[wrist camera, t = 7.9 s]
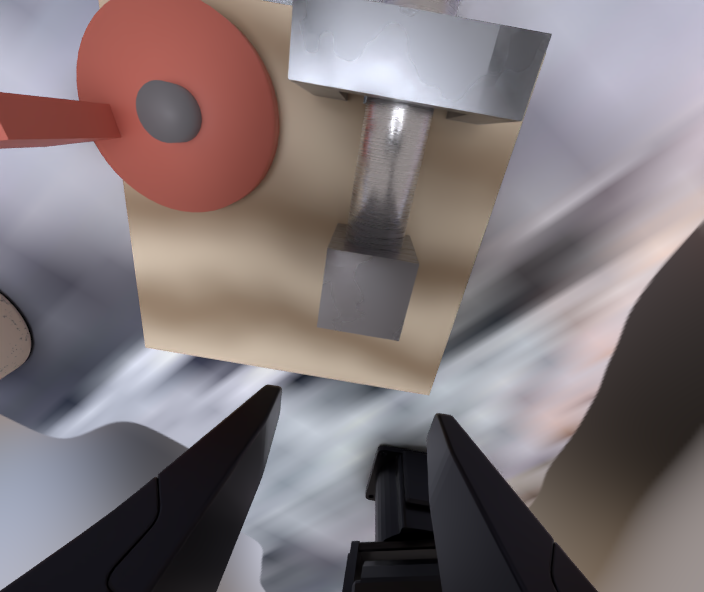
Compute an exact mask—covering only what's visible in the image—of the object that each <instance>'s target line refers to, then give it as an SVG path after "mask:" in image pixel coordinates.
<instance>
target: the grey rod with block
mask: <svg viewBox="0 0 704 592" xmlns="http://www.w3.org/2000/svg"><path fill="white" fill-rule="evenodd" d="M459 2H460V0H382V3H386V4H391V5H396V6H402V7H407V8H413V9H418V10H424V11H429V12H435V13H440V14H445V15H451V16H456V15H457V10H458V6H459ZM433 112H434V108H430V107H425V106H419V105H413V104H408V103H402V102H397V101H391V100H386V99H380V98H375V97H369V96H367V101H366V107H365V114H364V120H363V126H362V133H361V139H360V146H359V152H358V159H357V165H356V171H355V178H354V184H353V191H352V197H351V204H350V210H349V217H348V223H347V224H341V223H338V224H337V226H336V229H335V231H334V233H333V236H332V238H331V241H330V243H329V245H328V248H327V254H326V262H325V269H324V277H323V284H322V292H321V299H320V307H319V314H318V322H317V327H318V328H324V329H330V330H336V331H342V332H348V333H353V334H359V335H365V336H371V337H377V338H383V339H389V340H394V341H399V339H400V336H401V332H402V328H403V324H404V320H405V317H406V313H407V309H408V305H409V302H410V298H411V294H412V290H413V287H414V283H415V279H416V275H417V272H418V268H419V261H418V258H417V255H416V252H415V249H414V246H413V243H412V240H411V237H410V235H405V232H406V227H407V223H408V219H409V215H410V210H411V206H412V202H413V198H414V193H415V189H416V185H417V181H418V176H419V172H420V168H421V163H422V159H423V155H424V151H425V146H426V142H427V138H428V134H429V129H430V125H431V121H432V117H433Z"/></svg>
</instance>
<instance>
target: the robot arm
mask: <svg viewBox="0 0 704 592" xmlns="http://www.w3.org/2000/svg"><path fill="white" fill-rule="evenodd" d="M281 396H282V388H281V387H280V386H274V385H265V386H264V387H263V388H261V389H260V390H259V391H258V392H257V393H255V394H254V395H253V396H252V397H251V398H249V399H248V400H247V401H246V402H245V403H243V404H242V405H241V406H240V407H239V408H237V409H236V410H235V411H234V412H233V413H231V414H230V415H229V416H228V417H227V418H225V419H224V420H223V421H222V422H221V423H219V424H218V425H217V426H216V427H215V428H213V429H212V430H211V431H210V432H208V433H207V434H206V435H205V436H204V437H202V438H201V439H200V440H199V441H198V442H196V443H195V444H194V445H193V446H192V447H190V448H189V449H188V450H187V451H186V452H185V453H183V454H182V455H181V456H180V457H178V458H177V459H176V460H175V461H174V462H172V463H171V464H170V465H169V466H168V467H166V468H165V469H164V470H163V471H162V472H161V473H160V474H158V478H157V477H154V478H153V479H152V480H151V481H149V482H148V483H147V484H146V485H144V486H143V487H142V488H141V489H140V490H139V491H137V492H136V493H135V494H133V495H132V496H131V497H130V498H128V499H127V500H126V501H125V502H123V503H122V504H121V505H119V506H118V507H117V508H116V509H115V510H113V511H112V512H110V513H109V514H108V515H106V516H105V517H104V518H102V519H101V520H99V521H98V522H97V523H95V524H94V525H93V526H91V527H90V528H89V529H87V530H86V531H84V532H83V533H82V534H80V535H79V536H77V537H76V538H75V539H73V540H72V541H70V542H69V543H67V544H66V545H65V546H63V547H62V548H60V549H59V550H58V551H56V552H55V553H53V554H52V555H50V556H49V557H48V558H46V559H45V560H43V561H42V562H40V563H39V564H38V565H36V566H35V567H33V568H32V569H31V570H29V571H28V572H26V573H25V574H24V575H22V576H21V577H19V578H18V579H16V580H15V581H13V582H12V583H11V584H9V585H8V586H6V587H5V588H4V589H2V590H1V591H0V592H216V591H217V589H218V586H219V583H220V581H221V578H222V576H223V573H224V571H225V569H226V566H227V564H228V561H229V559H230V556H231V554H232V551H233V549H234V546H235V544H236V541H237V539H238V536H239V534H240V531H241V529H242V526H243V524H244V521H245V519H246V516H247V514H248V511H249V509H250V506H251V504H252V501H253V499H254V496H255V494H256V491H257V489H258V486H259V484H260V481H261V478H262V475H263V473H264V469H265V466H266V463H267V459H268V455H269V452H270V448H271V444H272V441H273V437H274V433H275V430H276V426H277V423H278V419H279V415H280V407H281ZM366 498H367V499H368V500H373V501H375V542H360V541H352V543H351V549H350V553H348V559H347V565H346V571H345V578H344V584H343V590H342V592H598V591H597V590H596V589H595V588H594V587H593V585H592V584H591V583H590V582H589V581H588V580H587V578H586V577H585V576H584V575H583V574H582V572H581V571H580V570H579V569H578V568H577V566H575V564H574V563H573V562H572V561H571V560H570V558H569V557H568V556H567V555H566V553H565V552H564V551H563V550H562V548H561V547H560V546H559V545H558V544H557V543H556V542H554V540H553V538H552V536H551V535H550V534H549V533H548V532H547V531H546V529H545V528H544V527H543V526H542V524H541V523H540V522H539V521H538V520H537V518H536V517H535V516H534V515H533V513H531V511H530V510H529V509H528V507H527V506H526V505H525V504H524V502H523V501H522V500H521V499H520V498H519V496H518V495H517V494H516V493H515V491H514V490H513V489H512V488H511V487H510V485H509V484H508V483H507V482H506V481H505V479H504V478H503V477H502V476H501V474H500V473H499V472H498V471H497V470H496V468H495V467H494V466H493V465H492V464H491V462H490V461H489V460H488V459H487V457H486V456H485V455H484V454H483V453H482V451H481V450H480V449H479V448H478V446H477V445H476V444H475V443H474V442H473V440H472V439H471V438H470V437H469V436H468V434H467V433H466V432H465V431H464V429H463V428H462V427H461V426H460V425H459V423H458V422H457V421H456V420H455V419H454V417H453V416H451V415H447V414H441V413H437V414H436V415H435V416H434V419H433V421H432V424H431V427H430V430H429V432H428V436H427V453H425V452H419V451H413V450H407V449H401V448H395V447H389V446H380V447H378V449H377V453H376V456H375V460H374V463H373V467H372V470H371V474H370V478H369V481H368V485H367V488H366Z"/></svg>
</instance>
